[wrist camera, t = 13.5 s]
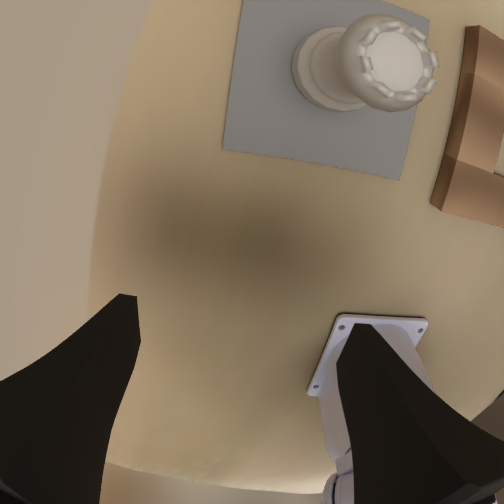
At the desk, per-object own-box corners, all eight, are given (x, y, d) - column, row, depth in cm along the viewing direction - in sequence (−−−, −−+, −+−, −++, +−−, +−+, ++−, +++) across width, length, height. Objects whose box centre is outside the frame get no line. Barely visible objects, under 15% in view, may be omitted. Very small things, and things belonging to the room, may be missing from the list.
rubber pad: (395, 177, 17) (399, 180, 17) (223, 147, 17) (222, 150, 16) (424, 21, 12) (429, 19, 12) (248, -25, 12) (248, -29, 11)
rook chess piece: (292, 111, 15) (328, 134, 8) (287, 28, 13) (318, -20, 6) (375, 112, 15) (462, 141, 8) (373, 33, 13) (459, 7, 6)
